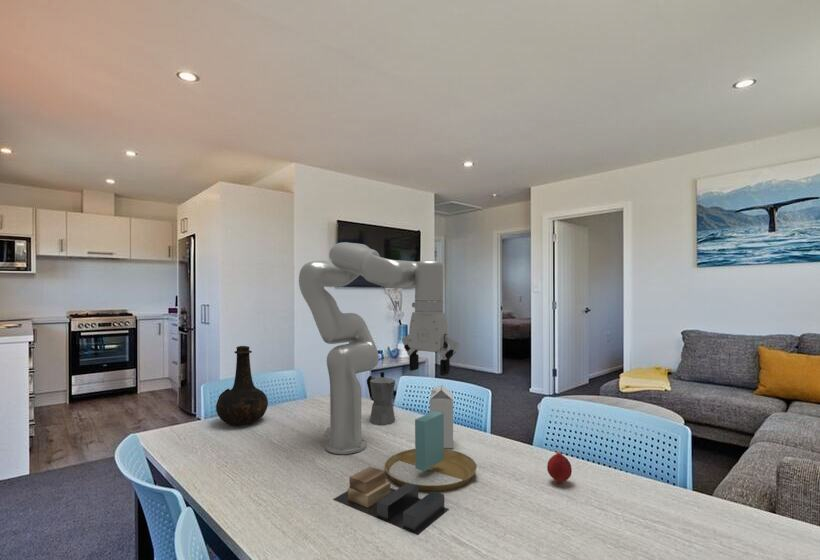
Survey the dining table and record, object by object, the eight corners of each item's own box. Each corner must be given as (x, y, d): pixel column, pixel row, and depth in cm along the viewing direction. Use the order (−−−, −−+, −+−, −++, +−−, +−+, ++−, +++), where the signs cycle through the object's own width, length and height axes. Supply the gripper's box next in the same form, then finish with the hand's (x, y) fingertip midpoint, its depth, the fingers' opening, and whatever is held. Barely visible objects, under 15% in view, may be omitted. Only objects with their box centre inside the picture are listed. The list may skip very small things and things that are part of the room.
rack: (332, 503, 99) (332, 486, 99) (367, 483, 108) (367, 467, 108) (417, 540, 84) (417, 519, 84) (449, 513, 94) (449, 495, 94)
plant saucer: (373, 465, 120) (373, 453, 120) (451, 453, 129) (451, 442, 129) (402, 507, 98) (402, 492, 98) (494, 489, 106) (494, 475, 106)
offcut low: (348, 499, 98) (348, 488, 98) (371, 486, 105) (371, 475, 105) (367, 507, 95) (367, 496, 95) (390, 493, 101) (390, 482, 101)
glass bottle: (233, 414, 167) (232, 342, 168) (276, 416, 165) (276, 343, 165) (205, 429, 150) (205, 349, 150) (253, 431, 147) (253, 350, 148)
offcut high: (349, 487, 99) (349, 476, 99) (369, 476, 104) (369, 466, 104) (365, 493, 96) (365, 482, 96) (385, 482, 101) (385, 471, 101)
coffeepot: (404, 422, 156) (403, 372, 157) (384, 428, 150) (384, 376, 150) (377, 413, 167) (376, 367, 168) (357, 418, 161) (357, 370, 161)
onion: (571, 479, 110) (571, 448, 110) (572, 490, 104) (571, 457, 104) (547, 476, 112) (547, 445, 112) (546, 486, 106) (546, 454, 106)
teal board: (415, 468, 111) (415, 419, 111) (434, 456, 118) (434, 411, 118) (425, 471, 109) (424, 421, 109) (443, 459, 116) (443, 413, 116)
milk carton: (453, 440, 138) (452, 381, 138) (453, 449, 131) (452, 386, 131) (431, 440, 138) (430, 381, 139) (429, 448, 131) (429, 386, 132)
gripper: (394, 306, 116) (394, 370, 116) (449, 309, 105) (449, 379, 105) (411, 305, 122) (411, 366, 122) (464, 308, 112) (464, 373, 111)
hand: (429, 372), depth 114 cm, fingers open, 9 cm apart
